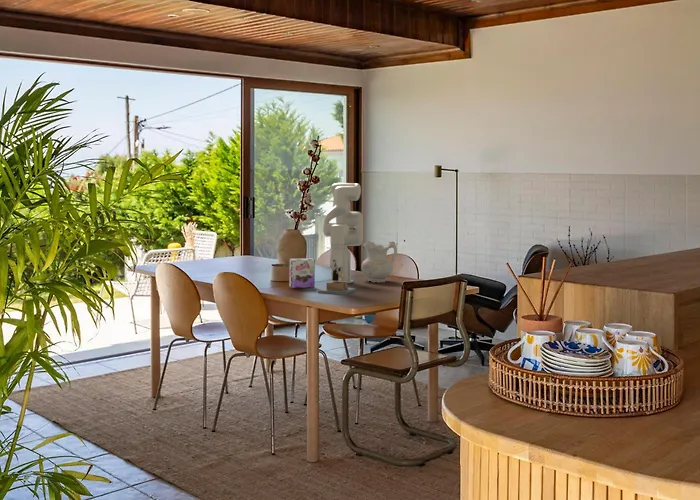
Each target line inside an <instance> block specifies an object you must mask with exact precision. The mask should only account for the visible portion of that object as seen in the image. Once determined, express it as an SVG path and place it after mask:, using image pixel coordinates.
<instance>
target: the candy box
mask: <svg viewBox="0 0 700 500" xmlns="http://www.w3.org/2000/svg"><path fill="white" fill-rule="evenodd" d="M315 263H316V261H315V259H314V258H311V257H310V258H289V268H288V270H289V271H288V272H289V274H288V277H289V278H288V279H289V281H288V282H289V283H288V286H289V288H290V289H307V288H308V289H311V288H312V289H313V288H315V282H316V281H315V277H316V276H315V273H316V271H315V270H316V269H315V267H316V266H315V265H316V264H315Z"/></svg>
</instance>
